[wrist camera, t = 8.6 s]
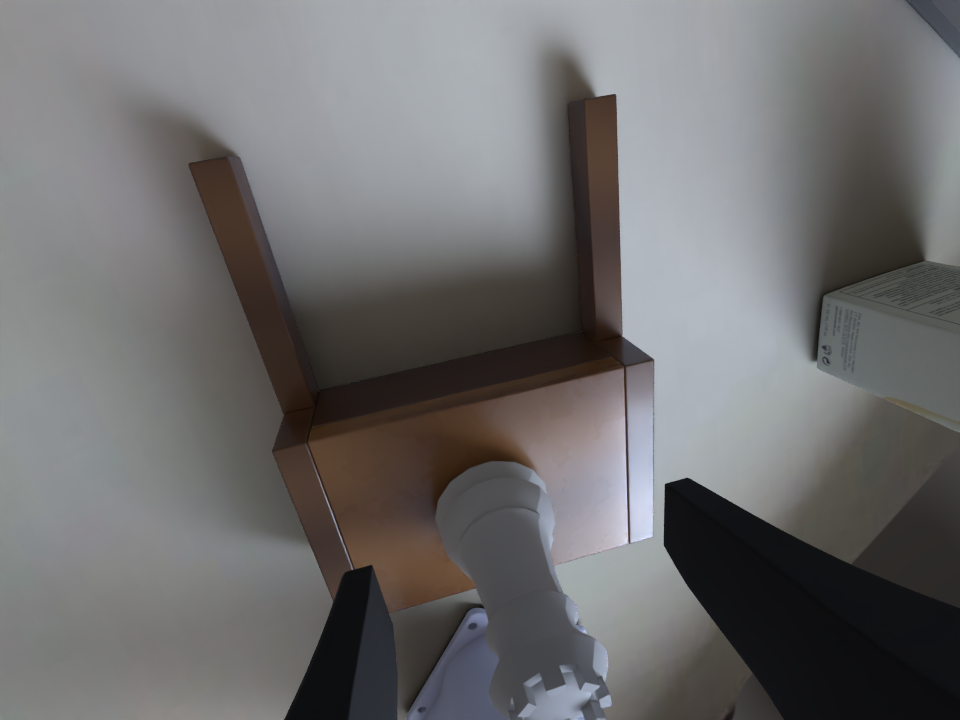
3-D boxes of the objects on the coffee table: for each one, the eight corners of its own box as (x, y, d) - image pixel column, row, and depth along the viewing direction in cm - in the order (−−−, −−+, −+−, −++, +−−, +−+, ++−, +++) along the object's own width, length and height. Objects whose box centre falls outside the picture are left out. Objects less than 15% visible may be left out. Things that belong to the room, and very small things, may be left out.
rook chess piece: (488, 432, 17) (570, 627, 10) (566, 489, 19) (681, 688, 12) (409, 514, 18) (433, 749, 11) (490, 561, 20) (557, 789, 13)
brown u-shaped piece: (202, 162, 16) (152, 164, 12) (598, 98, 18) (656, 83, 14) (347, 554, 23) (343, 627, 20) (613, 482, 25) (653, 537, 21)
